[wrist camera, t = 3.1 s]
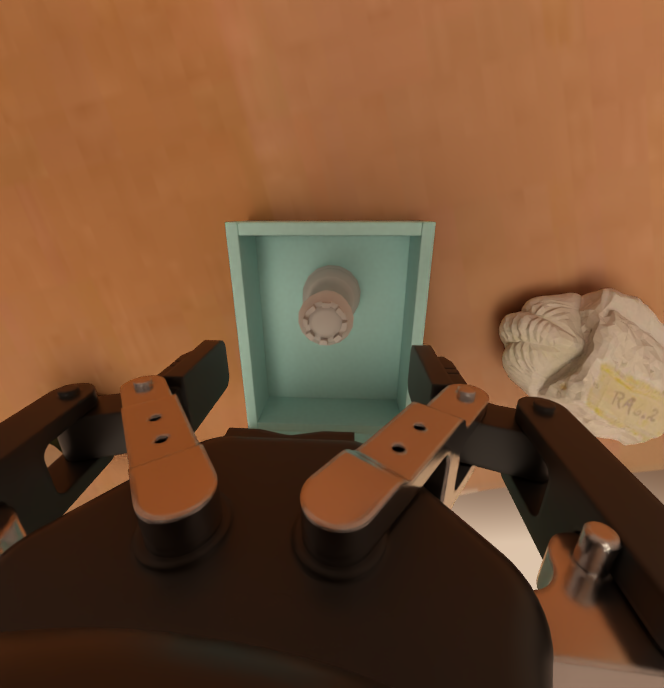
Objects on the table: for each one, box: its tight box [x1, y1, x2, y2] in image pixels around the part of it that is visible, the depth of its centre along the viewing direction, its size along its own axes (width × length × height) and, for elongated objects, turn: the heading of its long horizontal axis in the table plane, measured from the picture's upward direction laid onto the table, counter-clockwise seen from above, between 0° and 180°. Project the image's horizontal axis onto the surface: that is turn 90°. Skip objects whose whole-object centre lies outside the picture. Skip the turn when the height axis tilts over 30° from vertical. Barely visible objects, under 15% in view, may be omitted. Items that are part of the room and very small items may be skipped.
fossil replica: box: [499, 288, 664, 445], centre depth 23 cm, size 12×8×10 cm
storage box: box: [225, 220, 436, 434], centre depth 25 cm, size 16×13×5 cm
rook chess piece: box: [298, 265, 361, 346], centre depth 22 cm, size 4×4×8 cm
